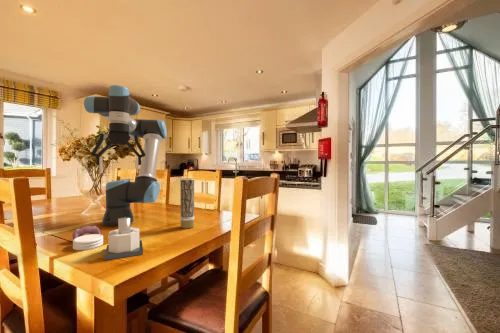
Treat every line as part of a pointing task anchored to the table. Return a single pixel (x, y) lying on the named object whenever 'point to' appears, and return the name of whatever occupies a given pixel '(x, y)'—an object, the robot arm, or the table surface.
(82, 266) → the table surface
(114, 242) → the ring
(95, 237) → the coaster
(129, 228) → the post stand
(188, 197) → the paper tube
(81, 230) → the purple curved piece
